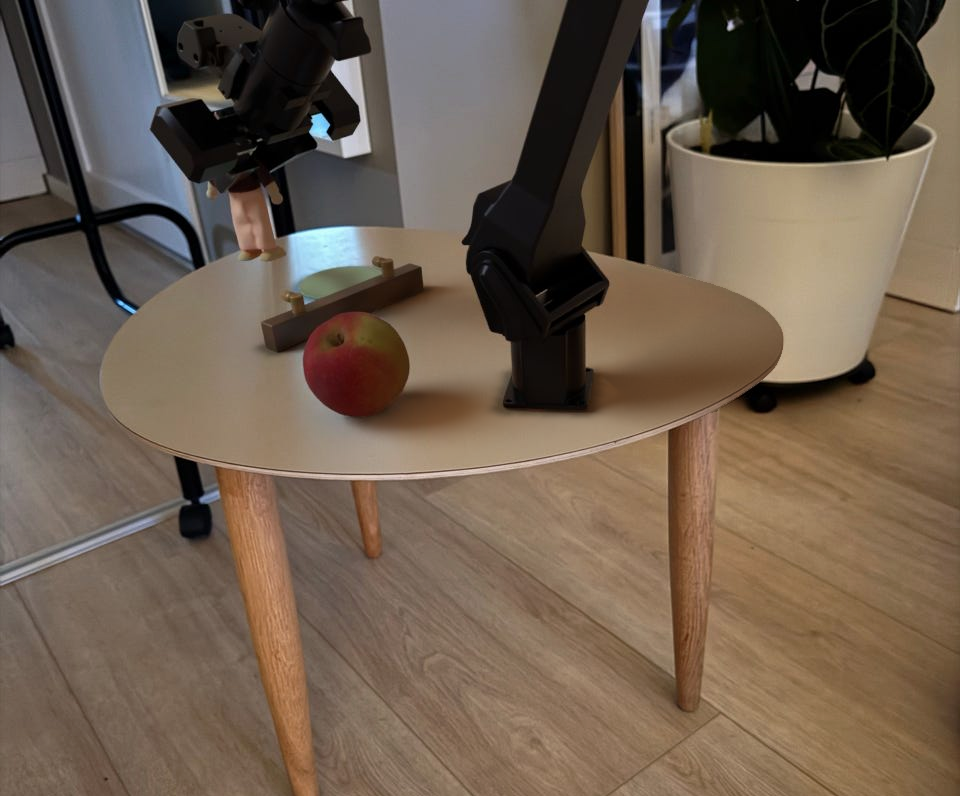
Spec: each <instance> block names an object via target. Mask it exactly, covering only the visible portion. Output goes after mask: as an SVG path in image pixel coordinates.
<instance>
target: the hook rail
mask: <svg viewBox="0 0 960 796" xmlns="http://www.w3.org/2000/svg"><path fill="white" fill-rule="evenodd" d="M371 264H372V266H374V267H370V266H364V265H349V266H338V267H333V268H328V269H324V270H320V271H317V272H315V273H312V274H309V275H308V276H307V277H305V278H303V279H302V280H301V281H300V283H299V285H298V288H299V292H295V291H291V290H288V289H286V290H284V291H282V292H281V294H280V297H281V300H283V301H284V302H286V303H289V304H290V307H291V309H289V310H287V311H284V312H282V313H280V314H277V315H275V316H273V317H269V318H267V319H265V320H262V321H260V325H261V330H262V335H263V340H264V345H265V348H267V349H269V350H271V351H274V352H276V353H279V352H281V351H283V350H286V349H288V348H291V347H293V346H295V345H297V344H300V343H303V342H305V341H308V339H309V337H310V335H311V334H312V333H313V331H314V330H315V329H316V328H317V327H318V326H320V325H321V324H323V323H324V322H326V321H327V320H329V319H331V318H332V317H334V316H336V315H338V314H342V313H347V312H366V313H370V314H372V313H373V312H375V311H376V312H377V311H378V310H381V309H383V308H385V307H388V306H391V305H393V304H395V303H397V302H400V301H401V300H404V299H407V298H410V297H411V296H414V295H416V294H419V293H420V292H424V290H425V288H424V278H423V276H424V275H423V268H422V266H421V265H418V264H413V263H410V262H409V263H406V264H403V265H402V266H399V267H397V268H395V265H394V260H393V258H385V257H381V256H378V255H376V256H374V257H372V259H371ZM378 268H379V269H378ZM380 269H381V270H380ZM304 297H307V298H309V299H313V301H310V302H308V303H305V298H304Z"/></svg>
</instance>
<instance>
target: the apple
mask: <svg viewBox="0 0 960 796" xmlns="http://www.w3.org/2000/svg"><path fill="white" fill-rule="evenodd" d="M410 365H411V363H410V355H409V353H408V350H407V347H406V345H405V343H404V340H403V339H402V337H401V336H400V334H399V332H398V331H397V330H396V329H395V328H394V326H393V325H391V324H390V323H389V322H387V321H386V320H385V319H383V318H381V317H379V316H377V315H374V314H372V313H366V312H347V313H342V314H338V315H336V316H334V317H332V318H331V319H329V320H327V321H326V322H324V323H323V324H321V325H320V326H318V327H317V328H316V329H315V330H314V331H313V333H312V334H311V335H310V337H309V339H307V340H306V343H305V347H304V350H303V354H302V368H303V375H304V376H303V377H304V380H305V382H306V385H307V386H308V389H309V390H310V392H312V394H313V395H314V397H315V398H316V399H317V400H318V401H319V402H320V403H321V404H322V405H324V406H325V407H326V408H328V409H330V410H331V411H333V412H335V413H337V414H339V415H342V416H345V417H350V418H364V417H370V416H374V415H376V414H379V413H381V412H382V411H383V410H385V409H386V408H388V406H390V404H392V403H393V402H394V401H395V400H396V399H397V398H398V397H399V396H400V395H401V394H402V392H403V391H404V389H405V387H406V385H407V383H408V380H409V376H410V371H411V366H410Z"/></svg>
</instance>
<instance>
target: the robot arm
mask: <svg viewBox="0 0 960 796" xmlns="http://www.w3.org/2000/svg"><path fill="white" fill-rule="evenodd" d="M347 1H349V0H237V2H238V3H239V4H240V5H241V6H242V7H243V8H244V9H245V10H248V11H261V10H262V11H263V12H270V13H269V15H268V16H267V20H266V22H265V24H264V26H263V29H262V30H261V29H259V28H258V27H256V26H255V25H253V24H252V23H250V22H249V21H247V20H246V19H245V18H243V17H242V16H241V15H238V14H235V13H228V12H227V13H226V12H225V13H219V14H215V15H214V14H213V15H208V16H203V17H198V18H197V17H196V18H195V19H191V20H184V22H183V24H182V25H181V27H180V30H179V31H178V34H177V38H176V53H177V55H178V56H179V58H180V59H181V60H182V61H184V62H185V63H187V64H188V65H189V66H191V68H194V69H195V70H196V71H198V70H202V69H205V70H207V71H208V72H210V73H211V74H212V75H214V76H215V77H216V78H218V79H220V81H219V83H218V86H217V90H218V92H220V93H221V95H222V97H224V99H225V100H227V101H228V100H231V101H232V102H233V105H231V106H227V107H224V108H219V109H216V110H211V109H210V108H209V106H208V105H207V104H206V103H205V102H204V100H203V99H202V98H195V97H191V98H187V99H186V98H185V99H181V100H178V101H174V102H173V101H172V102H170V103H166V104H161V105H157V106H156V108H155V110H154V111H155V112H154V114H153V117H152V120H151V123H150V128H149V131H150V132H151V133H152V136H154V137H155V138H156V141H158V143H159V144H160V145H161V147H162V148H163V149H164V150H165V152H166V153H167V154H168V156H169V157H170V158H171V159H172V160H173V162H174V163H175V165H176V166H177V167H178V168H179V170H180V171H181V172H182V174H183V175H184V176H185V177H186V179H187V180H188V181H190V182H193V183H195V184H197V185H200V184H202V183H207V182H208V181H209V180H212V179H214V185H215V187H216V188H217V190H218V193H219V194H222V195H223V194H225V193H226V192H228V190H229V189H231V188H232V187H234V186H235V185H236V184H237V183H239V182H240V181H241V180H243V179H244V178H245V177H247V176H248V175H249V174H251V173H252V172H254V171H255V170H256V169H258V168H259V166H260V165H259V164H258V163H257V162H256V160H255V159H257V160H259V161H261V162H262V163H263V164H264V166H265V167H266V168H267V169H268V171H269V172H270V174H272V173H273V172H275V171H277V170H278V169H280V168H282V167H284V166H286V165H288V164H290V163H292V162H294V161H296V160H298V159H299V158H301V157H303V156H304V155H306V154H308V153H311V152H313V151H315V150H316V149H317V148H318V142H317V140H316V139H315V138H314V136H313V135H312V133H310V132H311V130H312V128H313V126H314V123H313V116H317V115H322V117H323V118H324V119H325V121H326V122H327V123H328V124H329V126H328V128H327V129H326V131H325V134H327V136H328V137H329V139H330V140H331V141H332V142H336V141H337V140H338V141H339V140H341V139H344V138H347V137H348V138H349V137H351V136H354V133H355V132H356V130H357V129H358V127H359V125H360V124H361V121H362V119H361V113H360V105H359V104H358V103H357V102H356V100H355V99H354V98H353V96H352V95H351V94H350V93H349V91H348V90H347V89H346V88H345V87H344V85H343V84H342V82H341V81H340V80H339V78H338V77H337V76H336V75H335V74H334V72H333V71H332V70H331V69H332V67H333V66H334V64H335V62H342V61H343V62H344V61H346V60H351V59H355V58H358V57H364V56H368V55H370V54H371V53H372V46H371V41H370V37H369V35H368V33H367V31H366V29H365V24H364V23H365V21H364V18H363V17H362V16H360V15H359V16H354V15H353V13H352V12H351V11H350V10H349V8H348V7H347V6H346V4H345V3H344V2H347ZM649 3H650V0H566V1H565V4H564V8H563V10H562V15H561V18H560V21H559V25H558V28H557V31H556V35H555V38H554V41H553V44H552V47H551V51H550V55H549V58H548V62H547V63H546V68H545V72H544V75H543V78H542V82H541V85H540V88H539V90H538V95H537V98H536V101H535V105H534V108H533V111H532V115H531V118H530V122H529V124H528V128H527V131H526V135H525V138H524V142H523V145H522V149H521V151H520V155H519V157H518V161H517V165H516V169H515V171H514V174H513V176H512V178H511V179H509V180H507V181H505V182H502V183H500V184H498V185H495V186H493V187H491V188H488V189H486V190H484V191H481V192H479V193H477V195H476V198H475V201H474V203H473V206H472V213H471V221H470V227H469V228H468V232H467V233H466V235H465V236H464V237H463V239H462V240H461V245H462V246H468V248H467V250H466V255H465V270H466V271H465V272H466V273H467V274H468V276H469V275H470V279H471V282H472V285H473V287H474V291H475V294H476V296H477V298H478V301H479V304H480V307H481V311H482V313H483V316H484V318H485V319H484V320H485V321H486V324H487V327H488V329H489V331H490V332H492V333H494V334H498V335H501V336H502V337H504V339H505V341H507V342H510V358H511V359H510V360H511V375H510V377H509V381H508V383H507V386H506V389H505V392H504V396H503V399H502V407H503V408H504V409H508V410H510V409H511V410H514V409H515V410H539V411H541V410H545V411H546V410H548V411H579V412H580V411H585V410H586V411H587V410H588V409H589V405H590V399H591V393H592V387H593V382H594V377H595V376H594V375H595V370H594V369H593V368H592V367H587V350H586V348H587V345H586V343H587V341H586V340H587V339H586V335H587V334H586V333H587V331H586V327H587V326H586V323H587V322H586V321H587V320H586V314H587V313H588V312H590V311H591V310H593V309H595V308H597V307H600V306H601V305H603V304H604V301H605V299H606V296H607V294H608V291H609V287H610V284H611V283H610V280H609V279H608V277H607V276H606V275H605V273H604V272H603V271H602V269H601V268H600V267H599V266H598V264H597V263H596V262H595V260H594V259H593V258H592V257H591V256H590V254H589V253H588V252H587V250H586V249H585V247H584V246H583V240H584V234H585V230H586V224H587V220H586V214H585V208H584V201H583V196H582V193H583V186H584V183H585V180H586V177H587V176H588V175H587V174H588V173H589V169H590V167H591V164H592V160H593V159H594V155H595V152H596V150H597V147H598V143H599V142H600V139H601V136H602V133H603V130H604V127H605V125H606V122H607V120H608V116H609V114H610V111H611V108H612V105H613V102H614V99H615V97H616V94H617V92H618V88H619V86H620V83H621V80H622V78H623V74H624V72H625V69H626V67H627V64H628V60H629V58H630V55H631V52H632V49H633V47H634V43H635V42H636V38H637V36H638V33H639V30H640V27H641V24H642V21H643V20H644V16H645V13H646V11H647V7H648V6H649Z"/></svg>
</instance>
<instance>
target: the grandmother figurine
mask: <svg viewBox="0 0 960 796" xmlns="http://www.w3.org/2000/svg"><path fill="white" fill-rule="evenodd" d="M255 160H256V162H257V163H258V164H259V165H260V166H259V168H258V169H256V170H255V171H254V172H252V173H251V174H249V175H248V176H247V177H245V178H244V179H243V180H241V181H240V182H239V183H237V184H236V185H235V186H234V187H232V188H231V189H229V190H228V191H227V192H228V196H229V204H230V206H229V207H230V211H231V218H232V224H233V228H234V231H235V235H236V238H237V243H238V247H239V249H240V250H241V252H240V253H239V255H238V261H241V262H249V261H253V260H255V259H257V258H258V260H259V262H264V263H265V262H266V263H267V262H272V261H276V260H278V259H282V258H284V257H286V256H288V255H287V252H286V250H285V249H284V248H283V247H281V246H280V245H277V244H276V243H277V242H276V238H275V234H274V230H273V226H272V222H271V219H270V218H271V217H270V214H269V209H268V203H267V199H266V196H265V194H264V190H263V188H264V189H265V191H266V192H267V195H269V196H270V199H271V202H272V204H274V205H280V204H282V202H283V201H284V198H283V194H281V193H280V189H279V187H278V185H277V183H276V179H275V177H274V176H273V175H272V173H270V172H269V171H268V169H267V168H266V167H265V166H264V164H263V163H262V162H261V161H259V160H257V159H255ZM262 187H263V188H262ZM218 196H219V191H218V190H217V188H216V187H215V185H214V179H212V180H209V181H207V190H206V197H207V198H208V199H209V200H211V201H212V200H217V198H218Z"/></svg>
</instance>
